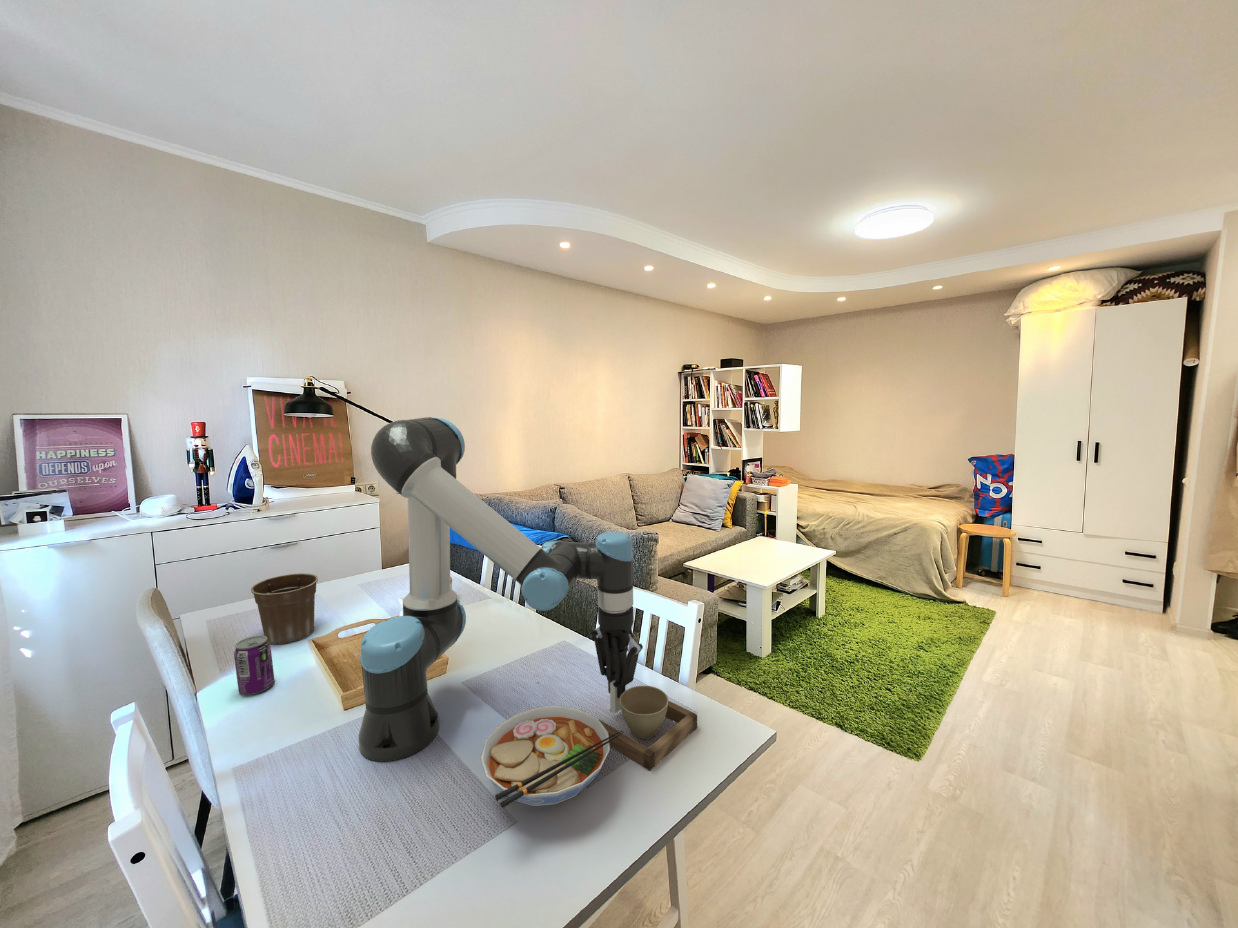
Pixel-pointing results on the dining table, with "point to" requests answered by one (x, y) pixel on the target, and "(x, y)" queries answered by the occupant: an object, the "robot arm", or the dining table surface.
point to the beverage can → (253, 665)
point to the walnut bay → (659, 748)
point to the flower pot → (644, 710)
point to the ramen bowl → (545, 755)
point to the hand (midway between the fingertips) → (617, 708)
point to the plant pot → (286, 606)
